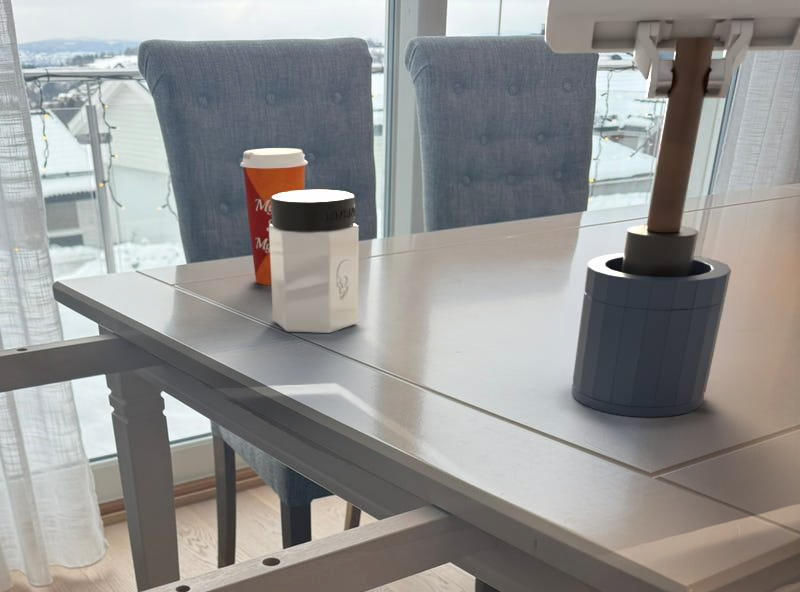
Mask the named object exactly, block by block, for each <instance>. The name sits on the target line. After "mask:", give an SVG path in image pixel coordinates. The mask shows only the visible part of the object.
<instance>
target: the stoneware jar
mask: <svg viewBox="0 0 800 592" xmlns="http://www.w3.org/2000/svg"><path fill="white" fill-rule="evenodd" d="M623 257H624V252H620V253H612V254H605V255H602V256H598V257H595V258H592V259H591V260H589V261H588V262H587V268H586V274H585V282H584V290H583V299H582V306H581V312H580V320H579V330H578V337H577V344H576V352H575V360H574V367H573V375H572V386H571V395H572V396H573V398H574V399H575V400H576V401H577V402H579V403H581V404H582V405H584V406H586V407H588V408H591V409H593V410H597V411H600V412H604V413H608V414H613V415H619V416H627V417H634V418H635V417H637V418H665V417H666V418H667V417H674V416H680V415H684V414H688V413H690V412H693V411H695V410H697V409H698V408H700V407H701V405H702V404H703V402H704V397H705V393H706V391H707V388H708V387H707V386H708V381H709V377H710V372H711V367H712V362H713V358H714V353H715V349H716V344H717V338H718V334H719V330H720V326H721V325H720V324H721V321H722V316H723V310H724V305H725V302H726V297H727V292H728V287H729V282H730V277H731V273H732V270H731V268H730V266H729V265H728V264H726V263H724V262H722V261H720V260H716V259H712V258H708V257H704V256H700V255H694V259H693V264H692V269H691V275H690V276H688V277H650V276H639V275H632V274H626V273H621V270H622V264H623Z"/></svg>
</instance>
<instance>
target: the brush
mask: <svg viewBox="0 0 800 592" xmlns="http://www.w3.org/2000/svg"><path fill="white" fill-rule="evenodd" d="M714 41H715V37H714V36H702V37H678V38H677V42H676V48H675V52H674V56H673V59H674V67H673V71H672V73H673V78H672V84H671V89H670V90H669V97H668V98H666V104H665V105H666V106H665V110H664V116H663V123H662V129H661V134H660V135H661V136H660V141H659V147H658V153H657V154H658V155H657V160H656V166H655V172H654V177H653V183H652V190H651V197H650V203H649V209H648V215H647V220H646V224H639V225H633V226H630V227H628V228H627V230H626V231H627V232H626V238H625V244H624V251H623V253H624V257H623V264H622V270H621V273H626V274H632V275H639V276H650V277H688V276H690V275H691V269H692V264H693V259H694V256H695V254H696V248H697V243H698V238H699V230H697V229H696V228H694V227H689V226H683V225H682V222H683V216H684V212H685V211H684V210H685V206H686V205H685V204H686V199H687V194H688V189H689V183H690V178H691V172H692V167H693V161H694V158H695V157H694V156H695V151H696V145H697V139H698V134H699V130H700V123H701V118H702V112H703V107H704V102H705V101H704V100H705V98H704V95H705V90H706V85H707V79H708V74H709V68H710V63H711V59H713V52H714V51H713V47H714Z"/></svg>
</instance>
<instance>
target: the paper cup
mask: <svg viewBox="0 0 800 592" xmlns="http://www.w3.org/2000/svg"><path fill="white" fill-rule="evenodd" d="M305 156H306V154H304V152H303V150H302V149H301V148H293V147H292V148H291V147H290V148H289V147H275V148H274V147H273V148H270V147H269V148H257V149H255V148H254V149H248V150H246V151H244V152H243V153H242V161H241V162H240V165H239V166H240V167H242V169H243V178H244V187H245V196H246V197H245V198H246V205H247V206H246V208H247V209H246V210H247V216H248V227H249V228H248V229H249V236H250V243H251V252H252V260H253V269H254V275H255V281H256V283H257V284H259V285H263V286H271V287H272V284H271V263H270V241H269V225H270V224H272V212H271V198H272V196H274V195H276V194H279V193H284V192H291V191H301V190H305V180H306V179H305V178H306V177H305V174H306V165H308V163H309V161H307V160H306V159H305Z"/></svg>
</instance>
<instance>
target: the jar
mask: <svg viewBox="0 0 800 592" xmlns="http://www.w3.org/2000/svg"><path fill="white" fill-rule="evenodd" d="M355 201H356V200H355V195H354V194H353V193H350V192H348V191H344V190H335V189H333V190H332V189H304V190H301V191H291V192H284V193H279V194H276V195H274V196H272V198H271V212H272V224H270V225H269V241H270V263H271V284H272V286H271V299H272V300H271V302H272V303H271V304H272V305H271V306H272V320H273V322H275V324H278V326H279V327H280V328H282V329H284V330H285V331H286V332H287V333H315V334H316V333H318V334H319V333H320V334H332V333H335V332H337V331H339V330H343V329H345V328H348V327H351V326H354V325H357V324H358V323H359V232H360V231H359V228H360V227H359V225H357V224H356V223H355V219H356V218H355V217H356V216H355V215H356V205H355Z"/></svg>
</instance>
